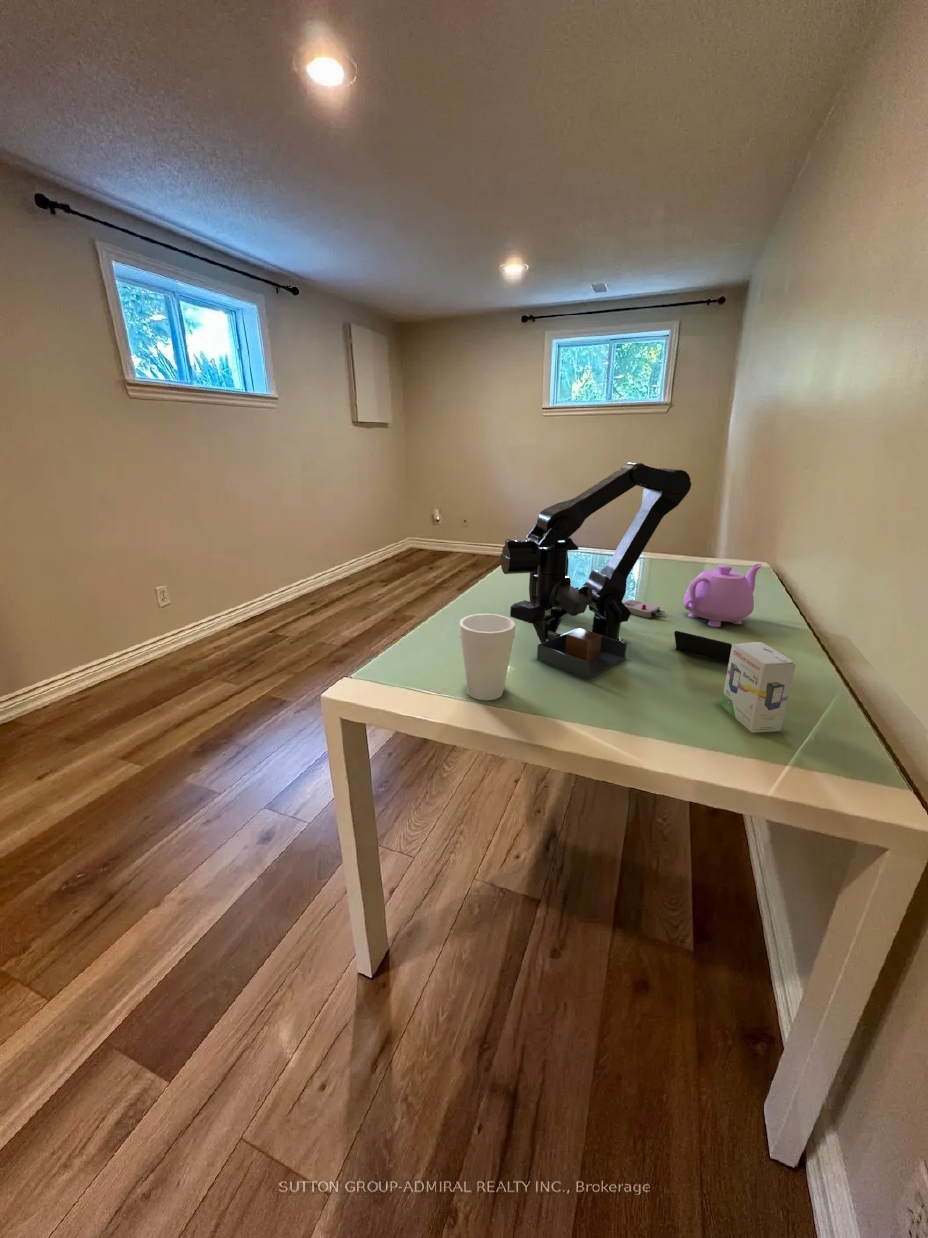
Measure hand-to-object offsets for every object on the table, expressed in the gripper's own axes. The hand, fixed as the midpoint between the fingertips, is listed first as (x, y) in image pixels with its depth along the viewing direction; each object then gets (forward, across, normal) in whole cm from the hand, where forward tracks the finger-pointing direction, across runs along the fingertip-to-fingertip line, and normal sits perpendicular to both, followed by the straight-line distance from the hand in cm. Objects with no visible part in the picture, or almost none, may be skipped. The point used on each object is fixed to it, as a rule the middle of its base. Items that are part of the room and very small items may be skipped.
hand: (546, 642), depth 105 cm
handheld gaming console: (+1, +21, -25) cm, 33 cm away
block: (+1, 0, -9) cm, 9 cm away
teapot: (+1, +47, -18) cm, 50 cm away
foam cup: (+1, -24, -5) cm, 25 cm away
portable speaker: (+1, +18, +14) cm, 23 cm away
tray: (+1, 0, -6) cm, 7 cm away
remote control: (+1, +37, -2) cm, 37 cm away
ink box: (+1, +1, -40) cm, 40 cm away
